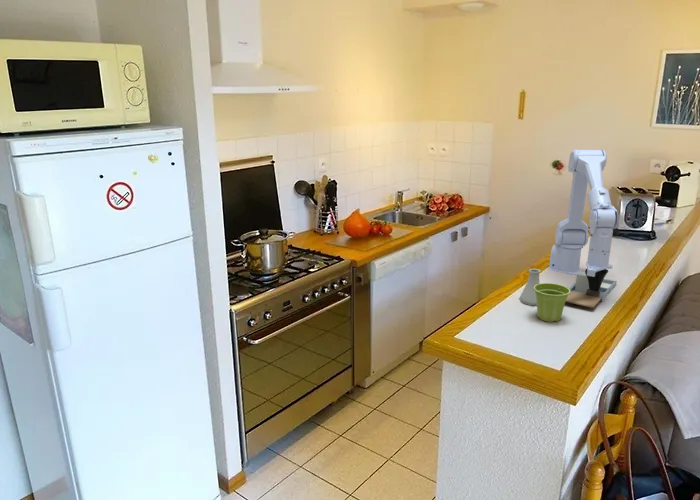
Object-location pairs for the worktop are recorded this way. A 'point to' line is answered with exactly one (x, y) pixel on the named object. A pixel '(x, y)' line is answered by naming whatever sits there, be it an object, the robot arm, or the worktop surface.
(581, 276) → the block
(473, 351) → the worktop surface
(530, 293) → the flask
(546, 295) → the plant pot
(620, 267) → the worktop surface
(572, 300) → the door
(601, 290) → the tray
